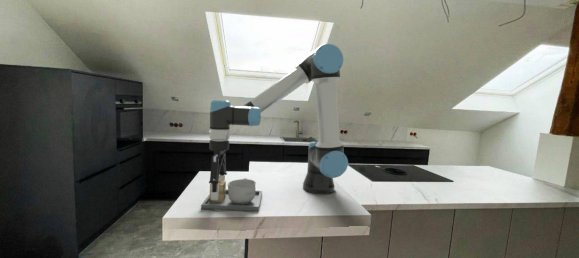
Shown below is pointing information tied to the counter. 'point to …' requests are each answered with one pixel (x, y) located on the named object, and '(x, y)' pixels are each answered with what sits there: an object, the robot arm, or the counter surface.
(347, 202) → the counter surface
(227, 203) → the tray
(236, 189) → the teacup
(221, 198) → the oak block
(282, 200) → the counter surface
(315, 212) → the counter surface
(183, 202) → the counter surface
